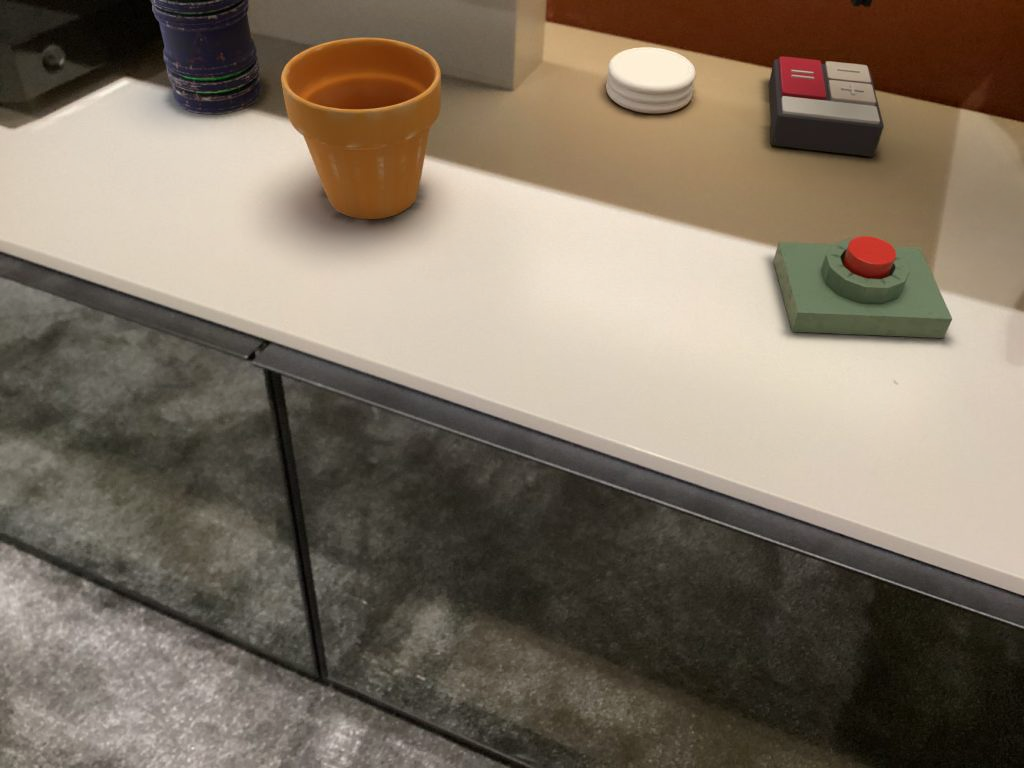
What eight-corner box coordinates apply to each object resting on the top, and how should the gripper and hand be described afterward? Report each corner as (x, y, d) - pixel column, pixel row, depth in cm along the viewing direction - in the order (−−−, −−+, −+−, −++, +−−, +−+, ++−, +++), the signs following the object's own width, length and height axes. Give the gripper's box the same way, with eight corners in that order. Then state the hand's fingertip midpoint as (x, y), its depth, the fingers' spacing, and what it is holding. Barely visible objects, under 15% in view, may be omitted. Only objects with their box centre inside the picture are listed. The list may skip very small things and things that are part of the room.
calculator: (871, 61, 111) (886, 120, 100) (861, 97, 114) (874, 157, 103) (775, 51, 112) (779, 108, 101) (767, 86, 115) (770, 145, 104)
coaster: (696, 117, 108) (702, 88, 106) (608, 114, 108) (611, 85, 106) (686, 74, 115) (690, 46, 113) (603, 72, 115) (606, 43, 113)
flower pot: (269, 200, 94) (246, 75, 85) (369, 141, 102) (359, 22, 93) (375, 255, 88) (363, 128, 79) (472, 189, 97) (472, 67, 87)
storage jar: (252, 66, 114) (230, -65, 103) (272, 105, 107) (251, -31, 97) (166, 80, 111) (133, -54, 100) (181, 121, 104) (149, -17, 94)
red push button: (883, 253, 85) (889, 236, 84) (895, 281, 82) (901, 265, 81) (838, 251, 85) (843, 235, 84) (848, 279, 82) (854, 263, 81)
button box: (912, 266, 90) (927, 231, 87) (943, 338, 82) (960, 302, 80) (773, 260, 90) (783, 225, 87) (792, 331, 83) (803, 295, 80)
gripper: (838, -198, 82) (790, 14, 95) (1015, -192, 82) (943, 20, 95) (821, -220, 87) (778, -17, 100) (987, -214, 87) (923, -11, 100)
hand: (858, 0), depth 97 cm, fingers closed
